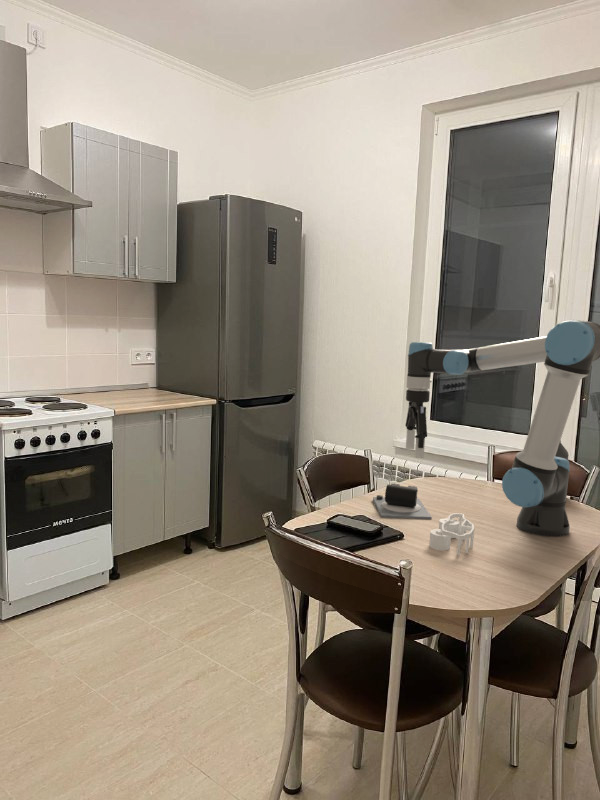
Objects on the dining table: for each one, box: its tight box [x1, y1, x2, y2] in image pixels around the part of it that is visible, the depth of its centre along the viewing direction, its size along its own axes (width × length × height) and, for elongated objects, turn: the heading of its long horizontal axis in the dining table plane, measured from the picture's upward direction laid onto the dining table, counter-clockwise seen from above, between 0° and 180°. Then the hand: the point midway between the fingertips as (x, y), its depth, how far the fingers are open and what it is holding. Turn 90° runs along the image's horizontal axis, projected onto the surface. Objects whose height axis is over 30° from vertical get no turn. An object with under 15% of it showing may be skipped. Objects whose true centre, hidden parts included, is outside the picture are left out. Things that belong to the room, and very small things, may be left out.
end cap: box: [384, 483, 419, 508], centre depth 206 cm, size 10×7×7 cm
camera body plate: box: [372, 494, 433, 520], centre depth 207 cm, size 20×16×2 cm
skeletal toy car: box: [428, 512, 475, 556], centre depth 175 cm, size 20×11×7 cm, turn 155°
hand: (414, 453), depth 206 cm, fingers open, 13 cm apart
